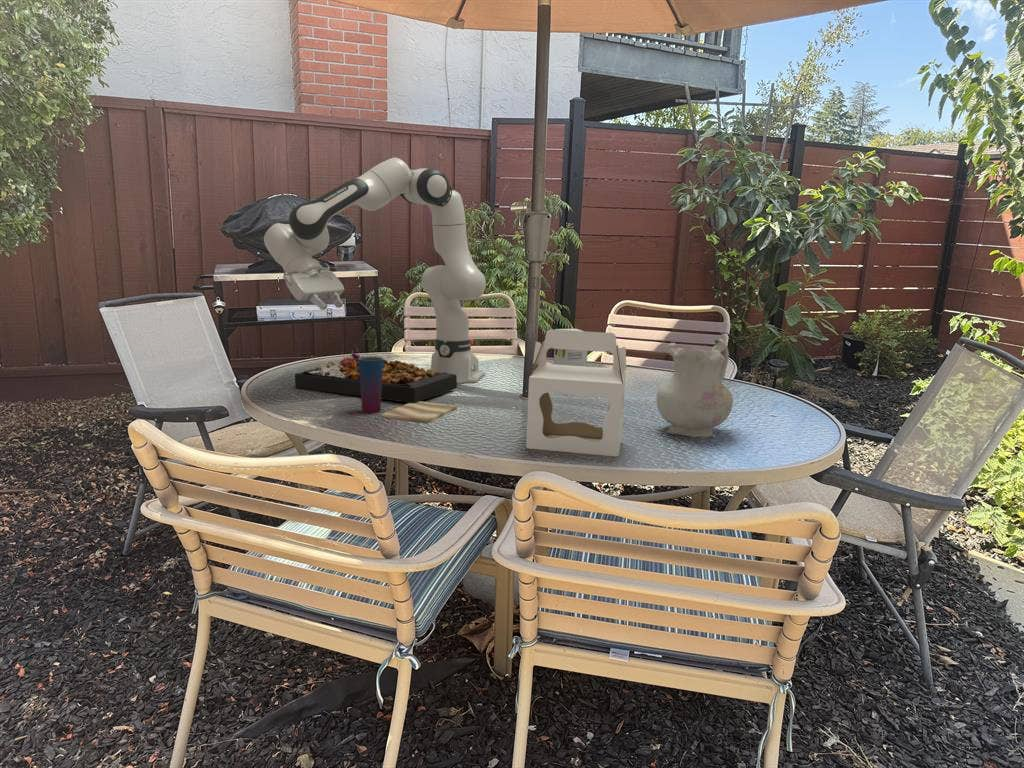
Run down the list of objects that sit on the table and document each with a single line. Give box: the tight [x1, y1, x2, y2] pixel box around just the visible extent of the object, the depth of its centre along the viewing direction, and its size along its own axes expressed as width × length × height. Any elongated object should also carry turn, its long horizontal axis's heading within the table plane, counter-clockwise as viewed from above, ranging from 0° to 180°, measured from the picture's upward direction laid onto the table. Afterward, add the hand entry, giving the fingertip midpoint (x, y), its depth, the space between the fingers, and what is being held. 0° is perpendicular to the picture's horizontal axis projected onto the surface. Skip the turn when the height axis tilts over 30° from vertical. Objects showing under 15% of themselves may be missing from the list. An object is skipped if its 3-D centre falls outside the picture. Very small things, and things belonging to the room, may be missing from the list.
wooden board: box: [381, 401, 458, 424], centre depth 195 cm, size 18×14×1 cm
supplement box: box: [553, 328, 589, 367], centre depth 255 cm, size 10×9×17 cm
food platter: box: [294, 348, 458, 403], centre depth 222 cm, size 45×25×10 cm, turn 65°
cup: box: [358, 355, 384, 414], centre depth 194 cm, size 7×7×15 cm
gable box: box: [525, 329, 627, 458], centre depth 167 cm, size 22×13×28 cm, turn 78°
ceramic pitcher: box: [656, 337, 734, 439], centre depth 183 cm, size 22×20×25 cm
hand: (332, 307), depth 202 cm, fingers open, 6 cm apart
